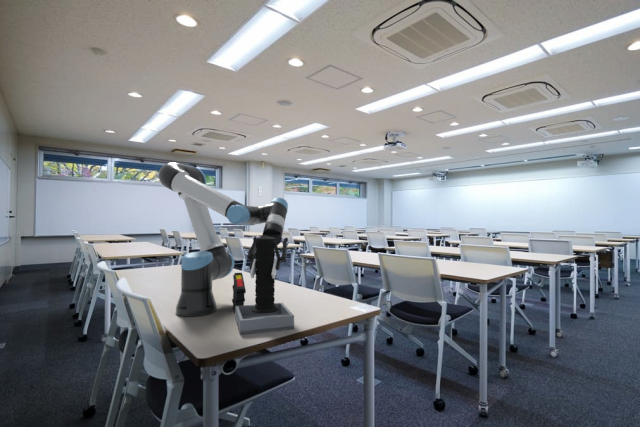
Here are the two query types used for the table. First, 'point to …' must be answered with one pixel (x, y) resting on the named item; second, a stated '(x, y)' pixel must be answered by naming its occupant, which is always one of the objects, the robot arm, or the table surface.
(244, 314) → the tray
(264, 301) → the handle grip
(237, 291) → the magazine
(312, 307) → the table surface
